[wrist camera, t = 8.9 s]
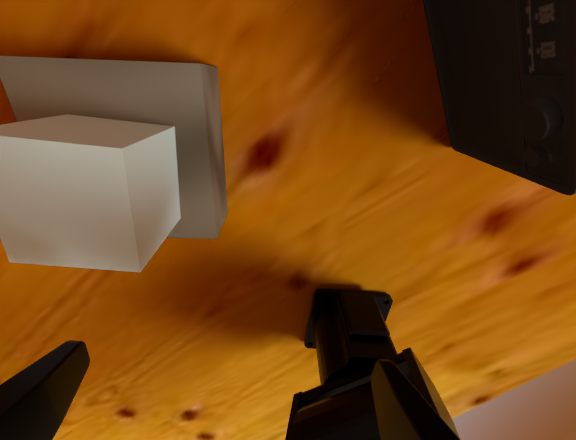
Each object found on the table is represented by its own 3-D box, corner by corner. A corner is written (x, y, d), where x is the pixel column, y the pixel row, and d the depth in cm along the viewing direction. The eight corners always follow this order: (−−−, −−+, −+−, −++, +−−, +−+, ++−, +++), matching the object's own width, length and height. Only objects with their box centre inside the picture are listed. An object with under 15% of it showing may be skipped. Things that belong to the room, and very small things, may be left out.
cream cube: (180, 218, 16) (140, 272, 11) (88, 209, 15) (9, 262, 11) (174, 126, 14) (122, 148, 9) (67, 114, 13) (-43, 131, 9)
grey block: (228, 210, 20) (217, 238, 16) (100, 207, 20) (60, 235, 16) (219, 67, 16) (200, 63, 12) (58, 61, 16) (-9, 55, 12)
